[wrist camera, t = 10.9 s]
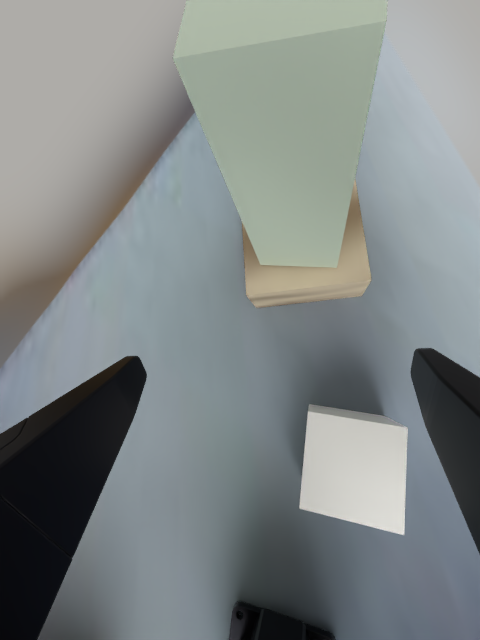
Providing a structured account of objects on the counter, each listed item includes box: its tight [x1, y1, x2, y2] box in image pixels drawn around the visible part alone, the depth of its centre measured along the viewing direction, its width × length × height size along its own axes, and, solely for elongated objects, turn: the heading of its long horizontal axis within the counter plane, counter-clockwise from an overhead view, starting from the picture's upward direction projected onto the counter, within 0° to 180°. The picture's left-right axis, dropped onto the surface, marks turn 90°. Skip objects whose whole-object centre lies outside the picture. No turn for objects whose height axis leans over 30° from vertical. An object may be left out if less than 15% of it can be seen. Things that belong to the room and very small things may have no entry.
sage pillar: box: [173, 0, 388, 268], centre depth 13 cm, size 5×5×13 cm
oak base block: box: [242, 181, 371, 308], centre depth 21 cm, size 8×8×4 cm
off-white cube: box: [299, 404, 408, 535], centre depth 17 cm, size 5×5×5 cm
